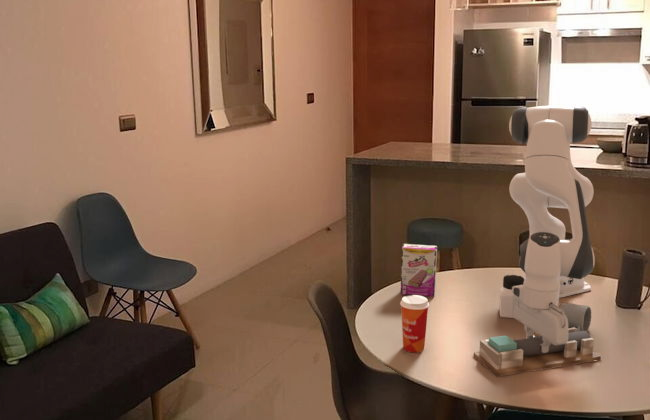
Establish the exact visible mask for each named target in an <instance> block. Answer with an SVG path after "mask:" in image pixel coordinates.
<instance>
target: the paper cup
mask: <svg viewBox="0 0 650 420" xmlns="http://www.w3.org/2000/svg"><path fill="white" fill-rule="evenodd" d="M401 298H402V299H401V301H400V302H399V304H400V308H401V328H402V329H401V330H402V331H401V332H402V346H403V347H402V348H403V350H404V351H406V352H408V353H413V354H415V353H416V354H417V353H421V352H423V351H424V350H425V344H426V333H427V324H428V311H429V307H430V302H429V300H428V297H424V296H419V295H412V296H411V295H406V296H403V297H401Z"/></svg>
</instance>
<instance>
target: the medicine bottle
mask: <svg viewBox="0 0 650 420" xmlns="http://www.w3.org/2000/svg"><path fill="white" fill-rule="evenodd" d="M502 279H503V280H502V281H503V282H502V287H500V288H499V302H498V304H499V306H498V310H499V316H500V318H508V319H515V318H514V317H513V315H512V311H511V307H512V296H513V295H514V294H513V293H512V287H513V286H517V285H523V283H524V277H523V276H521V275H519V274H514V273H513V274H512V273H511V274H507V275H504V276H503V278H502Z"/></svg>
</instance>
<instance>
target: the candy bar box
mask: <svg viewBox="0 0 650 420" xmlns="http://www.w3.org/2000/svg"><path fill="white" fill-rule="evenodd" d="M437 252H438V245H429V244H428V245H427V244H415V243H414V244H413V243H403V244H402V247H401V268H400V271H401V272H400V296H410V295H411V296H412V295H419V296H423V297H425V298H434V297H435V293H436V279H437V277H436V276H437V258H438V257H437V255H438V253H437Z"/></svg>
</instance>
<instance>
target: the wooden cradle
mask: <svg viewBox="0 0 650 420" xmlns="http://www.w3.org/2000/svg"><path fill="white" fill-rule="evenodd" d="M576 331H577V329H576V328H575V327H574V328H568V333H571V332H576ZM594 341H595V339H594V338H592V337H590V338H587V339H581V349H577V341H575V340H574V341H568V342H567V343H566V344H565V347H564V351H560V352H552V353H545V354H538V355H531V356H524V357H523V350H522V349H518V350H512V351H505V352H500V353H499V352H498V351H497V350H495V349H494V348H493V347H492V346H490V345H489V338H488V339H481V340H479V351H474V352H473V357H474V358H475V359H476V360H477V361H479V362H480V363H481V364H482V365H484V366H485V368H487V369H488V370H489V371H490V372H491V373H493V374H494V375H495V376H496V377H504V376H510V375H515V374H516V375H517V374H524V373H528V372H535V371H539V370H540V371H542V370H547V369H553V368H559V367H564V366H571V365H577V364H583V363H584V362H585V363H589V361H591V362H595V361H594V360H597V361H602V360H601V359H602V356H601V355H600V354H598V353H596V352H595V351H594V344H595V343H594Z"/></svg>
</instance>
